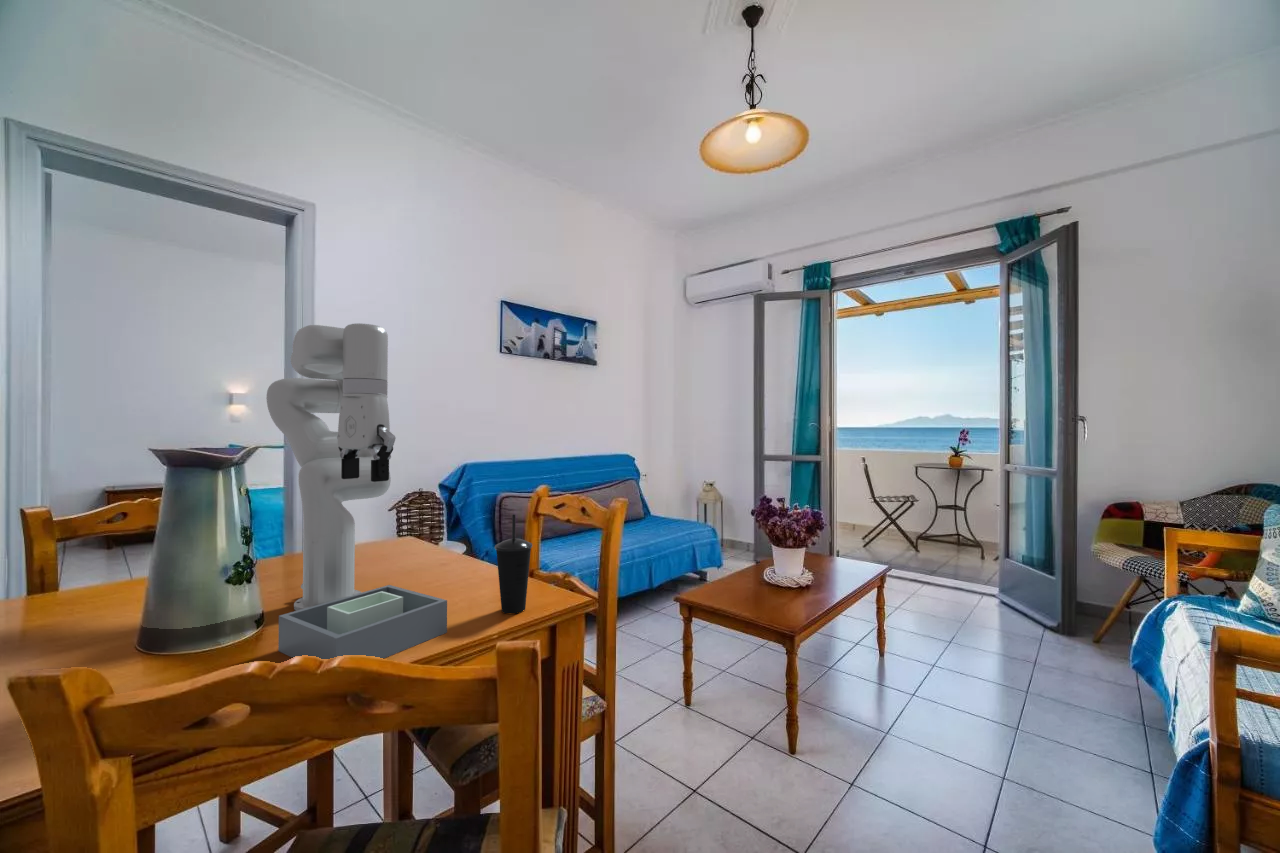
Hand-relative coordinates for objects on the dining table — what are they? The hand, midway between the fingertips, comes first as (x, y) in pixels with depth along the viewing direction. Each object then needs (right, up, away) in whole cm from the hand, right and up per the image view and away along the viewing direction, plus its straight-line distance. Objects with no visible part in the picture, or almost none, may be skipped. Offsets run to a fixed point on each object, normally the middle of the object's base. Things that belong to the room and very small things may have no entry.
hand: (364, 479), depth 95 cm
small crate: (+3, -27, -6) cm, 28 cm away
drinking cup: (+26, -29, +10) cm, 40 cm away
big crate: (+4, -28, -6) cm, 29 cm away
